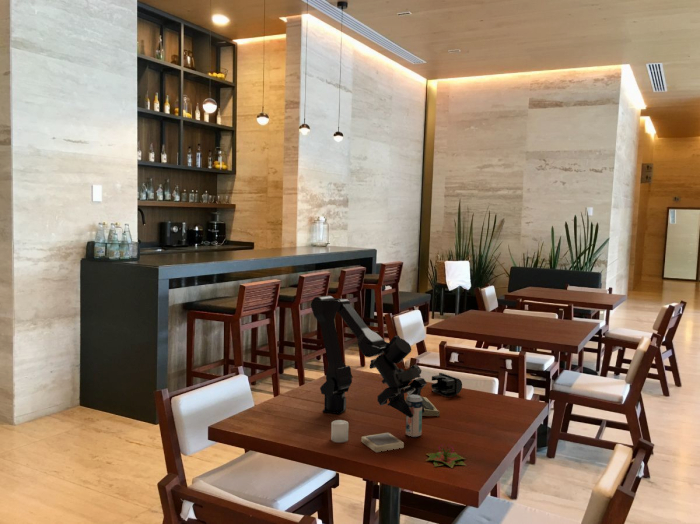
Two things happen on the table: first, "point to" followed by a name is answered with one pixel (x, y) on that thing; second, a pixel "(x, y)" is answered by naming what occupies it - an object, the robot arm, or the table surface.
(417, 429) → the beer can
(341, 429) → the white rounded cylinder
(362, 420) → the table surface
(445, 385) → the end cap
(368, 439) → the stand
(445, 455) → the lily flower
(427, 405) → the computer
